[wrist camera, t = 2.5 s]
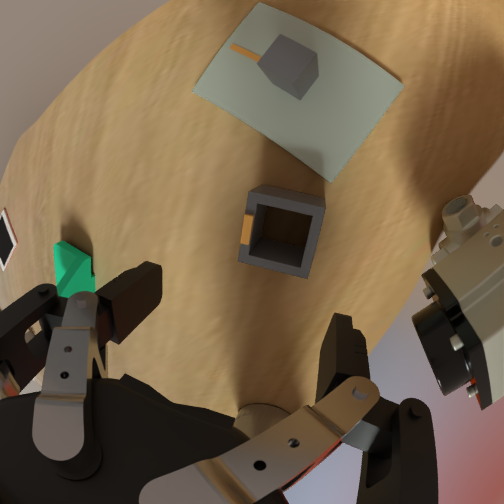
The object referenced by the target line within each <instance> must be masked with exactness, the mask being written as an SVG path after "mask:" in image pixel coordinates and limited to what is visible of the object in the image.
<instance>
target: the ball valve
mask: <svg viewBox="0 0 504 504" xmlns="http://www.w3.org/2000/svg"><path fill="white" fill-rule="evenodd" d="M442 219H443V221H444V225H443V229H444V232H445V234H446V236H447V237H446V238H445V239H444V240H442V241H441V242H440V243H439V248H440V250H439V251H438V252H436V253H435V254H434V255H432V256H431V260H432V262H433V264H434V266H433V267H432V268H430V269H429V270H428V271H426V272H425V273H423V274H422V275H421V276H422V278H423V280H424V281H425V284H426V286H427V287H426V288H425V289H423V292H424V294H425V296H426V298H427V299H430V298H431V297H432V298H433V301H434V302H433V303H431V304H430V305H428V306H427V307H425V308H424V309H422V310H421V311H419V312H417V313H416V314H414V315H413V316H412V322H413V324H414V327H415V329H416V332H417V334H418V336H419V339H420V341H421V344H422V346H423V348H424V351H425V353H426V356H427V358H428V360H429V363H430V365H431V368H432V370H433V373H434V375H435V377H436V380H437V382H438V384H439V387H440V389H441V391H442V393H443V395H444V396H446V395H448V394H450V393H451V392H453V391H455V390H456V389H458V388H460V387H461V386H463V385H465V384H466V383H468V382H469V381H470V382H471V386H469V387H467V388H466V390H467V393H468V396H469V398H471V397H472V396H474V395H476V397H477V400H478V402H479V405H480V408H481V410H483V409H485V408H486V407H488V406H489V405H491V404H492V403H494V402H495V401H497V400H498V399H500V398H501V397H503V396H504V209H502V208H500V206H498V205H495V206H493V207H492V208H491V209H490V210H489V209H487V208H481V207H480V206H479V205H475V203H474V201H473V198H472V196H471V195H462V196H458V197H456V198H454V199H452V200H451V201H450V202H448V203H447V204H446V205H445V206H444V208H443V209H442Z"/></svg>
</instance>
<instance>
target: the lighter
mask: <svg viewBox="0 0 504 504" xmlns="http://www.w3.org/2000/svg"><path fill="white" fill-rule="evenodd" d="M33 337H34V334H33V333H32V332H31V330H30V331H29V332H27V333H26V334H25V341H26V343H28V342H29V341H30V340H31V339H32V338H33Z"/></svg>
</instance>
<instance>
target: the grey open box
mask: <svg viewBox="0 0 504 504" xmlns="http://www.w3.org/2000/svg"><path fill="white" fill-rule="evenodd" d="M267 206H272V207H276V208H281V209H285V210H290V211H294V212H298V213H302V214H307V215H311V216H312V219H311V224H310V228H309V232H308V236H307V241H306V245H305V248H304V247H300V246H296V245H292V244H288V243H284V242H279V241H275V240H271V239H267V238H263V237H262V232H263V226H264V221H265V215H266V209H267ZM325 209H326V207H325V198H322V197H318V196H314V195H310V194H305V193H301V192H296V191H292V190H287V189H283V188H278V187H273V186H268V185H263V184H262V185H260V186H258V187H256V188H254V189H252V190H250V191H249V193H248V199H247V206H246V212H245V215H244V221H243V227H242V234H241V240H240V243H241V244H240V251H239V257H238V261H239V262H242V263H246V264H250V265H254V266H258V267H262V268H266V269H270V270H274V271H278V272H282V273H286V274H290V275H294V276H298V277H302V278H306V279H308V276H309V272H310V268H311V265H312V261H313V257H314V253H315V250H316V246H317V242H318V238H319V234H320V230H321V226H322V222H323V217H324V213H325Z"/></svg>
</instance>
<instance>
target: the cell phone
mask: <svg viewBox="0 0 504 504" xmlns="http://www.w3.org/2000/svg"><path fill="white" fill-rule="evenodd" d="M17 244H18V241H17V238H16V236H15V233H14V231H13V228H12V225H11V223H10V220H9V217H8V214H7V211H6V209H3V211H2V214H1V216H0V265H1V267H2V270H3V271H5V269H6V267H7V265H8V262H9V260H10V258H11V256H12V254H13V252H14V250H15V248H16V246H17Z"/></svg>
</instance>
